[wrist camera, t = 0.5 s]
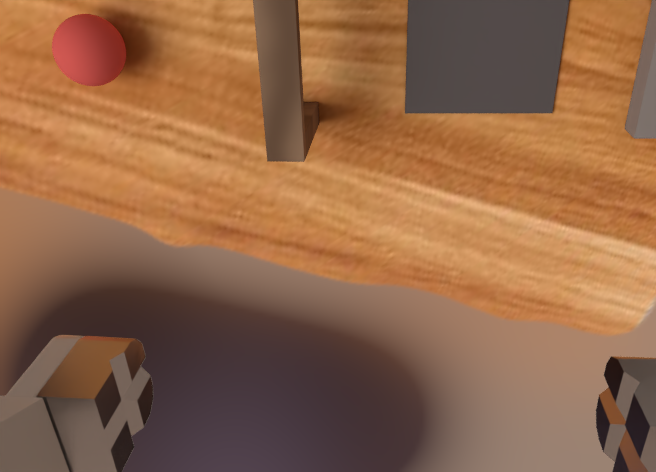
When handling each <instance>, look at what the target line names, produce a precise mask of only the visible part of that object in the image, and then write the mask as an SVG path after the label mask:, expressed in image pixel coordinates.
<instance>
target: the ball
mask: <svg viewBox="0 0 656 472" xmlns="http://www.w3.org/2000/svg"><path fill="white" fill-rule="evenodd" d="M52 51H53V56H54V59H55V61H56V63H57V65H58V67H59V68H60V70H61V71H62V72H63V73H64V74H65V75H66V76H67V77H69V78H70V79H71V80H73V81H75V82H77V83H79V84H82V85H87V86H100V85H104V84H106V83H109V82H111V81H112V80H114V79H115V78H116V77H117V76H118V75H119V74H120V72H121V71H122V69H123V67H124V65H125V61H126V47H125V43H124V41H123V38H122V36H121V34H120V33H119V31H118V30H117V29H116V28H115V27H114V26H113V25H112V24H111V23H110V22H108V21H107V20H105V19H103V18H101V17H99V16H96V15H91V14H80V15H75V16H72V17H70V18H68V19H66V20H65V21H64V22H63V23H61V24H60V26H59V27H58V28H57V30H56V32H55V34H54V37H53V42H52Z"/></svg>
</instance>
